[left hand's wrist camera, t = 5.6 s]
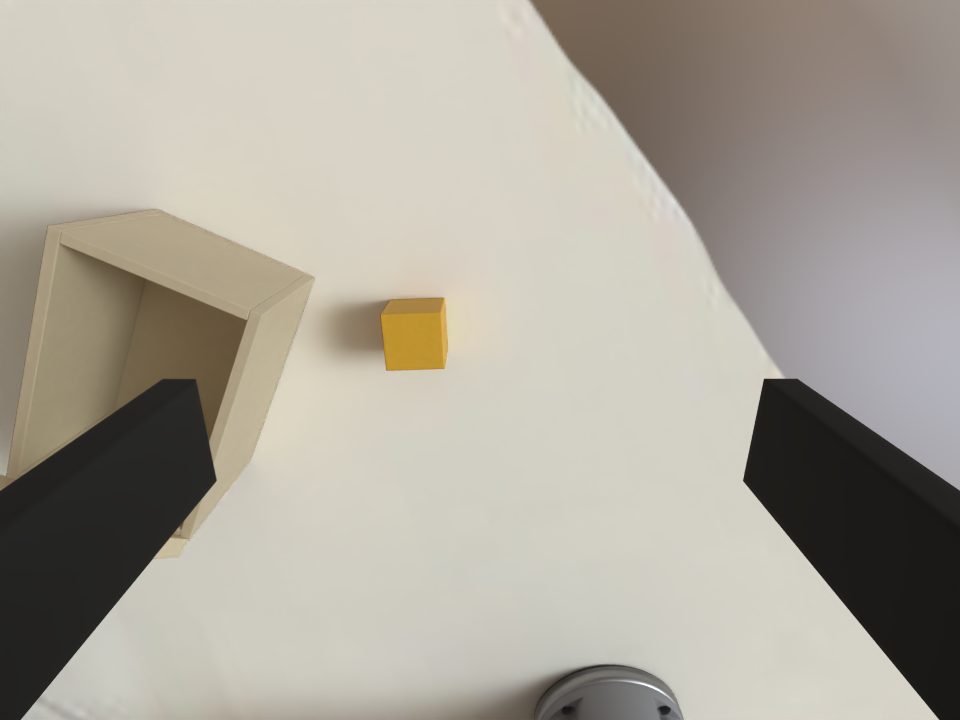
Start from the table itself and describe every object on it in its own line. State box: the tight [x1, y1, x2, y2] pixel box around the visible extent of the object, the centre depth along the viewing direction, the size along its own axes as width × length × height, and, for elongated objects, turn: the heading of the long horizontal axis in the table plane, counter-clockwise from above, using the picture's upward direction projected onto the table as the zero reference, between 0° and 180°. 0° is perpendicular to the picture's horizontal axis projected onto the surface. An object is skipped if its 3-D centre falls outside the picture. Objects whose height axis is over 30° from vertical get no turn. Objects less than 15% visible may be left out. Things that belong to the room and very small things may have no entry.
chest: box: [6, 209, 315, 541], centre depth 37 cm, size 17×12×10 cm
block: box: [380, 298, 448, 371], centre depth 39 cm, size 4×4×4 cm
